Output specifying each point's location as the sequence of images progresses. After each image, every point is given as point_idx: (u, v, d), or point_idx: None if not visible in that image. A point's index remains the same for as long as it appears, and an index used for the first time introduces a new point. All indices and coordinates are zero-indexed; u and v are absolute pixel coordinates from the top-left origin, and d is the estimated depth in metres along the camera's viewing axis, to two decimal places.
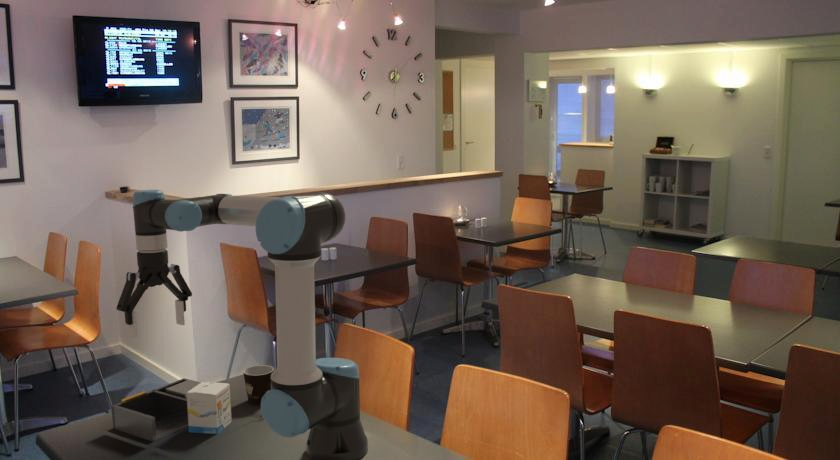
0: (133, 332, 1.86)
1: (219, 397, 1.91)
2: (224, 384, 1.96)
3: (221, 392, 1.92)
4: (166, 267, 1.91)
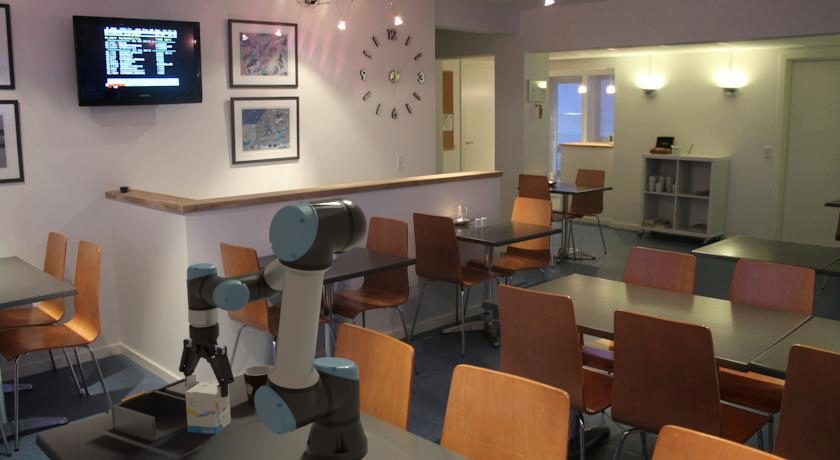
0: None
1: None
2: None
3: None
4: (210, 344, 1.89)
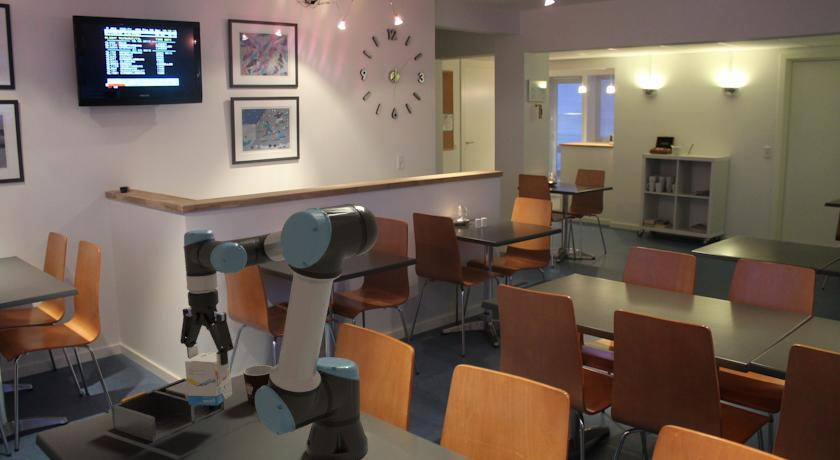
0: None
1: None
2: None
3: None
4: (209, 311, 1.87)
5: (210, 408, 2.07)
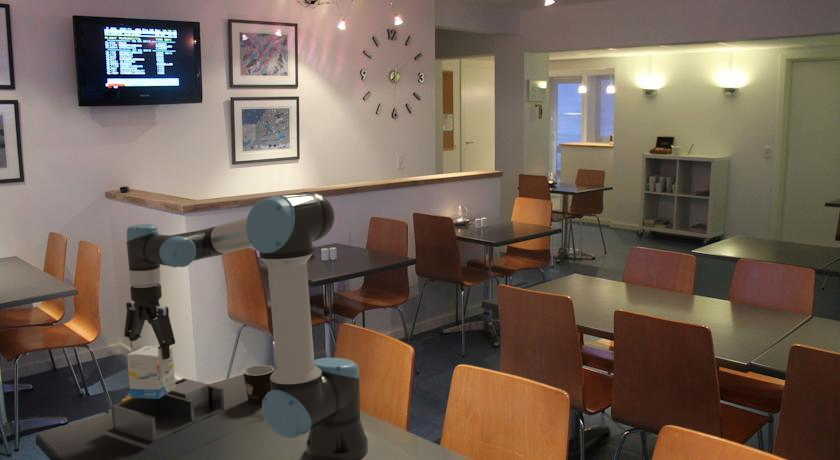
0: None
1: None
2: None
3: None
4: (151, 305, 1.88)
5: (210, 408, 2.07)
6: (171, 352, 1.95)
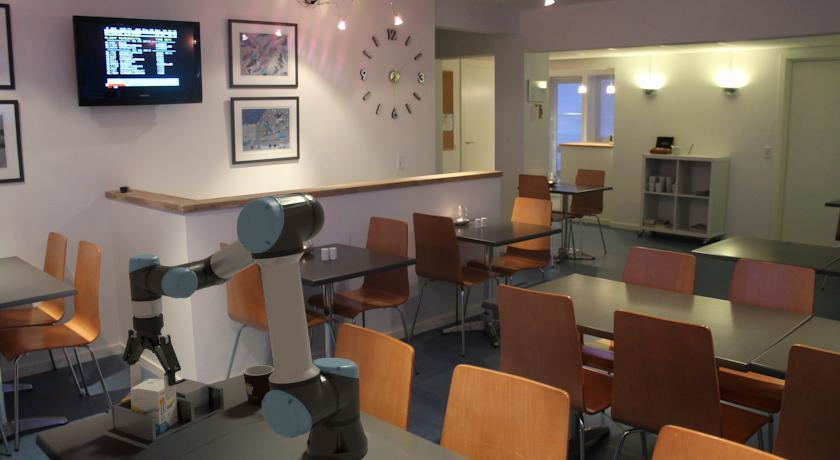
0: None
1: (162, 393, 1.91)
2: None
3: None
4: (153, 335, 1.89)
5: (210, 408, 2.07)
6: None
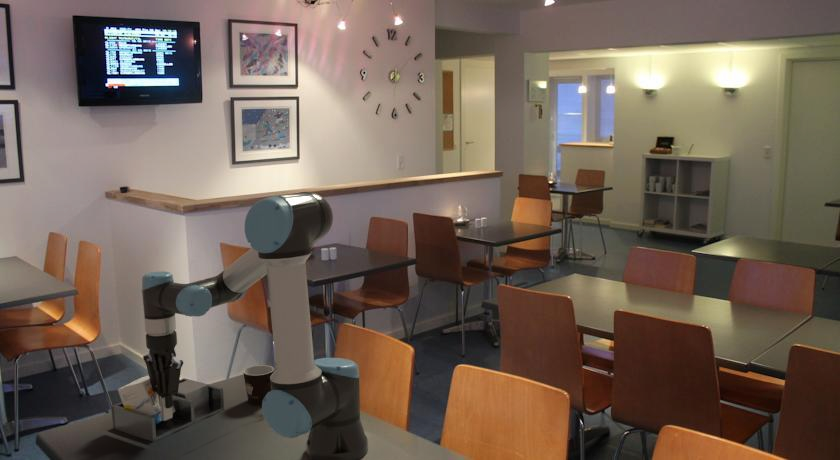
0: None
1: (148, 384, 1.92)
2: None
3: None
4: (168, 354, 1.87)
5: (210, 408, 2.07)
6: None
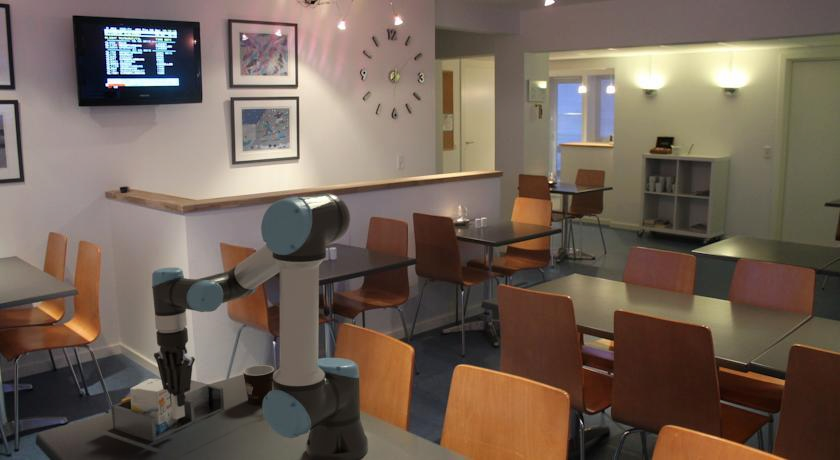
0: None
1: (161, 394, 1.91)
2: None
3: None
4: (179, 351, 1.85)
5: (210, 408, 2.07)
6: None
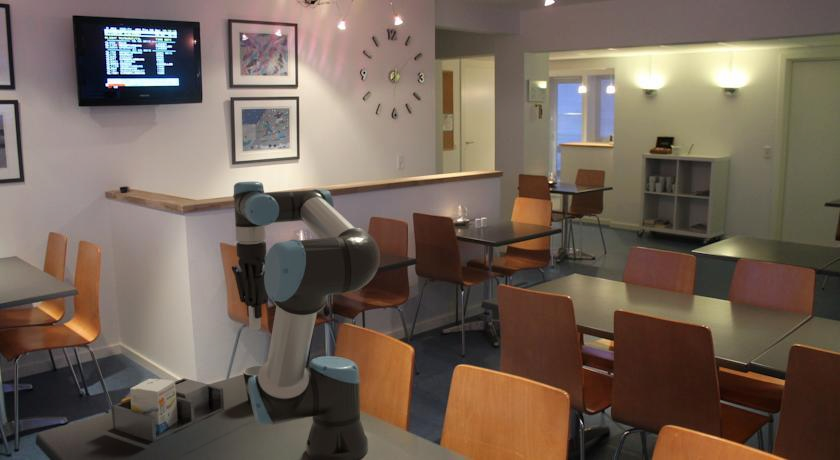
0: None
1: (161, 394, 1.91)
2: (169, 381, 1.96)
3: (165, 389, 1.92)
4: (259, 262, 1.88)
5: (210, 408, 2.07)
6: (174, 386, 1.96)
